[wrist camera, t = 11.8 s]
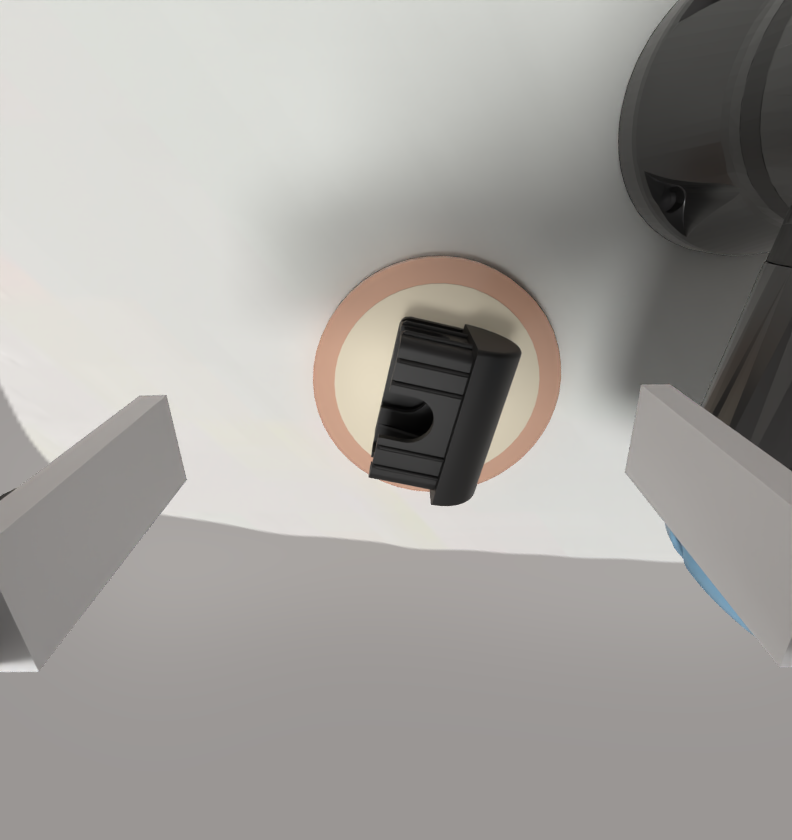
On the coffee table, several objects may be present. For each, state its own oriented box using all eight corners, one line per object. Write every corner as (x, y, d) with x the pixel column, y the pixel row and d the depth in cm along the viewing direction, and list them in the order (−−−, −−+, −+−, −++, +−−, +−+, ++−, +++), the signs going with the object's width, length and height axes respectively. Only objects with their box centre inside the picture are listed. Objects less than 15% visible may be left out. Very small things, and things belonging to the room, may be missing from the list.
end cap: (466, 461, 36) (479, 516, 30) (372, 442, 36) (365, 493, 30) (509, 330, 32) (534, 363, 26) (403, 306, 32) (403, 333, 25)
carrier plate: (575, 261, 32) (584, 265, 30) (534, 485, 39) (539, 497, 38) (313, 249, 32) (308, 252, 30) (319, 476, 39) (315, 488, 37)
